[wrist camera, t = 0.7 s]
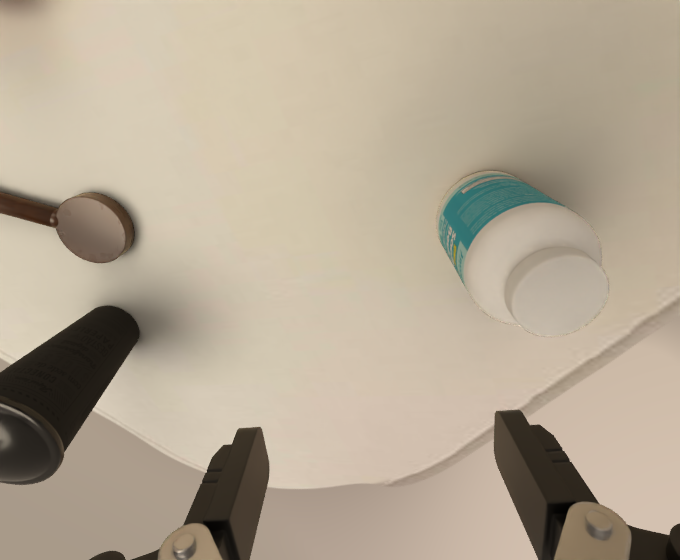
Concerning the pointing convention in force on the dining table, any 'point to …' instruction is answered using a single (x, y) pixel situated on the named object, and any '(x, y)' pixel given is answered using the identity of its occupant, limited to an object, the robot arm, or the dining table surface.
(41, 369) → the drinking cup
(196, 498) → the robot arm
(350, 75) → the dining table surface
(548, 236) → the pill bottle
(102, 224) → the spoon
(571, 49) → the dining table surface
